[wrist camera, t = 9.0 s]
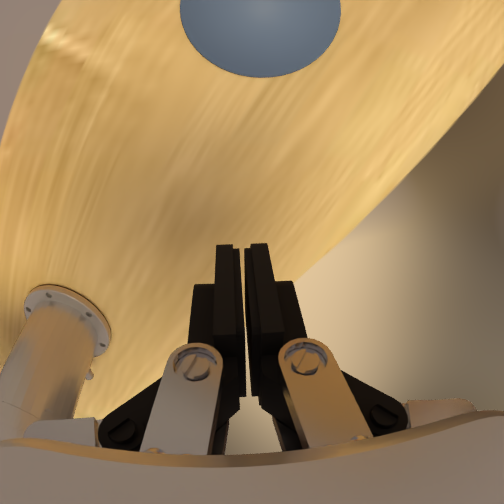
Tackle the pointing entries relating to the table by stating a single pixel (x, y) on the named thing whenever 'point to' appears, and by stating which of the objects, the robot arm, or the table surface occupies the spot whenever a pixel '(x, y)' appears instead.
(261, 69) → the disc
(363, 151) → the table surface
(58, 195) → the table surface
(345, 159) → the table surface
